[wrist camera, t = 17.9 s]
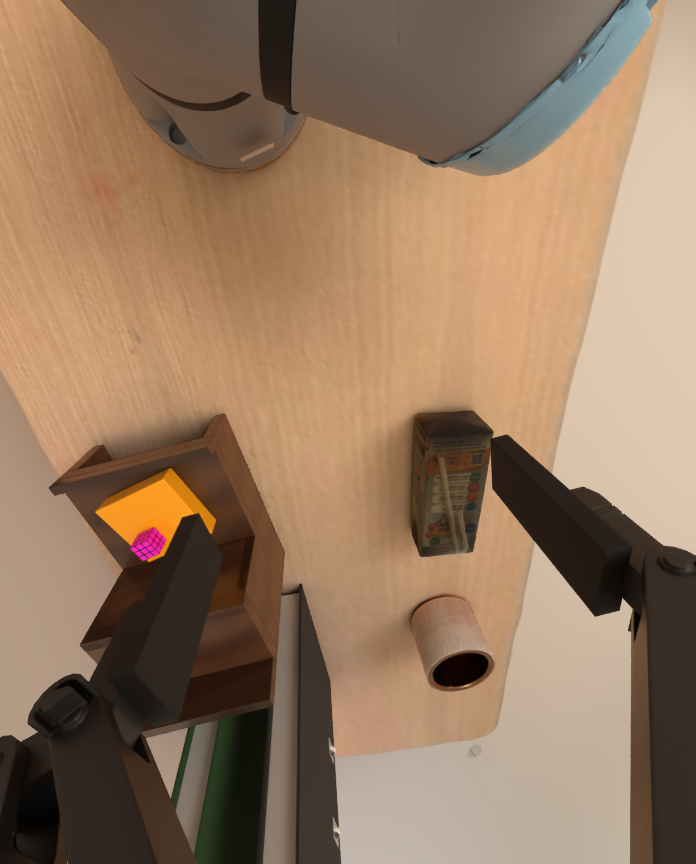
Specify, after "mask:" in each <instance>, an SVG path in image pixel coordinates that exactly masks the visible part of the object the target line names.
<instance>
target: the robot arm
mask: <svg viewBox="0 0 696 864" xmlns="http://www.w3.org/2000/svg"><path fill="white" fill-rule="evenodd" d="M657 1H658V0H61V2H62V3H63V4H64V5H65V6H66V7H67V8H68V9H69V10H70V11H71V12H72V13H73V14H74V15H75V16H76V17H77V18H78V19H79V20H80V21H81V22H82V23H83V24H84V25H85V26H86V27H87V28H88V29H89V30H90V31H91V32H92V33H93V34H94V35H95V36H96V38H97V39H98V40H99V41H100V42H101V43H102V44H103V45H104V46H105V47H106V48H107V49H108V51H109V54H110V57H111V60H112V62H113V65H114V67H115V70H116V72H117V75H118V77H119V79H120V81H121V83H122V85H123V87H124V89H125V90H126V92H127V94H128V96H129V97H130V99H131V101H132V102H133V104H134V106H135V107H136V109H137V110H138V111H139V113H140V114H141V116H142V117H143V118H144V120H145V121H146V122H147V123H148V125H149V126H150V127H151V128H152V129H153V130H154V131H155V132H156V133H157V134H158V135H159V136H160V137H161V138H162V139H163V140H164V141H165V142H166V143H167V144H169V145H170V146H171V147H172V148H173V149H175V150H176V151H177V152H179V153H180V154H181V155H183V156H184V157H186V158H188V159H189V160H191V161H193V162H195V163H197V164H199V165H201V166H204V167H206V168H209V169H212V170H216V171H221V172H230V173H238V172H247V171H252V170H255V169H258V168H261V167H263V166H265V165H267V164H269V163H270V162H272V161H274V160H275V159H276V158H278V157H279V156H280V155H281V154H282V153H283V152H284V151H285V150H286V149H287V148H288V147H289V146H290V145H291V143H292V142H293V141H294V140H295V138H296V136H297V135H298V133H299V132H300V130H301V128H302V126H303V124H304V121H305V119H306V116H310V117H313V118H316V119H318V120H321V121H324V122H327V123H329V124H332V125H335V126H338V127H340V128H343V129H346V130H349V131H352V132H354V133H357V134H360V135H363V136H365V137H368V138H371V139H374V140H376V141H379V142H382V143H385V144H387V145H390V146H393V147H396V148H398V149H401V150H404V151H407V152H409V153H412V154H415V155H418V158H419V159H420V160H421V161H422V162H423V163H425V164H427V165H429V166H432V167H443V168H445V167H451V168H454V169H457V170H461V171H464V172H467V173H471V174H474V175H478V176H489V175H499V174H502V173H506V172H509V171H511V170H513V169H515V168H517V167H519V166H521V165H523V164H525V163H527V162H528V161H530V160H531V159H533V158H534V157H536V156H537V155H538V154H540V153H541V152H542V151H544V150H545V149H546V148H548V147H549V146H550V145H551V144H552V143H554V142H555V141H556V140H557V139H558V138H559V137H560V136H561V135H562V134H563V133H564V132H565V131H567V130H568V129H569V128H570V127H571V126H572V125H573V124H574V123H575V122H576V121H577V120H578V119H579V117H580V116H581V115H582V114H583V113H584V112H585V111H586V110H587V109H588V108H589V107H590V105H591V104H592V103H593V102H594V101H595V100H596V99H597V97H598V96H599V95H600V94H601V93H602V91H603V90H604V89H605V88H606V87H607V85H608V84H609V83H610V82H611V80H612V79H613V78H614V77H615V75H616V74H617V73H618V71H619V70H620V69H621V67H622V66H623V65H624V63H625V62H626V61H627V59H628V58H629V56H630V55H631V54H632V52H633V51H634V49H635V48H636V46H637V45H638V43H639V42H640V40H641V39H642V37H643V36H644V34H645V33H646V31H647V30H648V28H649V27H650V25H651V23H652V15H651V12H650V10H651V8H652V7H653V6H654V5H655V4H656V2H657ZM490 446H491V467H492V489H493V490H494V491H495V492H496V494H497V495H498V496H499V497H500V499H501V500H502V501H503V502H504V504H505V505H506V506H507V507H508V509H509V510H510V511H511V512H512V514H513V515H514V516H515V517H516V519H517V520H518V521H519V522H520V524H521V525H522V526H523V527H524V529H525V530H526V531H527V532H528V534H529V535H530V536H531V537H532V539H533V540H534V541H535V542H536V544H537V545H538V546H539V547H540V549H541V550H542V551H543V552H544V553H545V555H546V556H547V557H548V559H549V560H550V561H551V562H552V564H553V565H554V566H555V567H556V569H557V570H558V571H559V572H560V574H562V576H563V577H564V578H565V580H566V581H567V582H568V583H569V585H570V586H571V587H572V588H573V590H574V591H575V592H576V593H577V595H578V596H579V597H580V598H581V600H582V601H583V602H584V603H585V605H586V606H587V607H588V608H589V610H590V611H591V612H592V613H593V615H594V616H595V617H596V616H600V615H603V614H607V613H612V612H616V611H619V610H620V606H621V601H622V598H623V599H624V600H625V601H626V602H627V603H628V604H629V605H630V606H631V607H632V608H633V611H632V615H631V619H630V624H629V628H628V631H630V632H631V795H630V796H631V797H630V798H631V801H630V864H696V556H695V555H693V554H691V553H690V552H688V551H685V550H682V549H679V548H676V547H670V546H663V545H662V544H661V543H659V542H658V541H657V540H656V539H654V538H653V537H652V536H651V535H649V534H648V533H647V532H646V531H644V530H643V529H642V528H641V527H640V526H638V525H637V524H636V523H635V522H634V521H632V520H631V519H630V518H629V517H627V516H626V515H625V514H622V513H621V511H620V510H619V509H617V508H616V507H615V506H612V504H611V503H610V502H609V501H608V500H606V499H605V498H604V497H603V496H601V495H600V494H599V493H596V492H594V491H592V490H590V489H587V488H585V487H580V488H576V489H572V490H569V489H568V488H567V487H566V486H565V485H564V484H563V483H561V482H560V481H559V480H558V479H557V478H556V477H554V475H552V474H551V473H550V472H549V471H548V470H547V469H546V468H545V467H543V466H542V465H541V464H540V463H539V462H538V461H537V460H536V459H534V458H533V457H532V456H531V455H530V454H529V453H528V452H526V451H525V450H524V449H523V448H522V447H521V446H520V445H519V444H517V443H516V442H515V441H514V440H513V439H512V438H511V437H510V436H508V435H503V436H499V437H495V438H491V439H490ZM222 560H223V556H222V554H221V552H220V550H219V548H218V547H217V545H216V543H215V541H214V539H213V537H212V536H211V534H210V532H209V530H208V528H207V527H206V525H205V523H204V521H203V519H202V517H201V516H200V514H199V513H197V514H193V515H189V516H185V517H182V519H181V521H180V523H179V525H178V527H177V529H176V531H175V533H174V536H173V538H172V540H171V542H170V544H169V546H168V548H167V550H166V553H165V555H164V557H163V559H162V561H161V563H160V565H159V567H158V570H157V572H156V574H155V576H154V578H153V580H152V582H151V584H150V587H149V589H148V591H147V593H146V595H145V597H144V599H141V600H137V601H134V602H133V604H132V605H131V606H130V607H129V608H128V610H127V611H126V612H125V613H124V614H123V616H122V618H121V620H120V622H119V624H118V626H117V627H116V629H115V630H116V632H115V633H113V635H112V637H111V639H110V641H109V645H107V647H106V649H105V651H104V653H103V655H102V657H101V659H100V661H99V663H98V665H97V667H96V669H95V671H94V673H93V675H92V677H91V679H90V681H89V682H88V681H87V680H86V679H85V678H84V677H83V676H82V675H81V674H71V675H68V676H65V677H63V678H62V679H60V680H59V681H57V682H55V683H54V684H53V685H51V686H50V687H49V688H48V689H47V690H46V691H45V692H44V693H43V694H42V695H41V696H40V698H39V699H38V700H37V701H36V703H35V704H34V706H33V708H32V710H31V712H30V714H29V717H28V724H29V725H30V726H31V727H32V728H34V729H35V730H36V731H38V733H36V734H34V735H32V736H31V737H29V738H27V739H25V740H23V741H22V742H20V741H19V740H17V739H16V738H15V737H13V736H12V735H9V736H2V737H1V738H0V864H67V861H68V864H197V862H196V859H195V857H194V855H193V852H192V850H191V847H190V845H189V842H188V840H187V838H186V835H185V833H184V830H183V828H182V825H181V823H180V821H179V818H178V816H177V813H176V811H175V808H174V806H173V804H172V801H171V799H170V796H169V794H168V791H167V789H166V787H165V784H164V782H163V779H162V777H161V774H160V772H159V770H158V767H157V765H156V763H155V760H154V757H153V755H152V753H151V750H150V748H149V745H148V743H147V741H146V738H145V736H144V735H143V734H142V733H141V732H140V731H141V728H142V726H143V723H144V720H145V718H146V719H147V720H148V721H149V722H150V723H151V724H152V725H153V726H154V727H157V726H161V725H165V724H169V723H173V722H177V721H179V718H180V714H181V710H182V707H183V703H184V699H185V695H186V692H187V688H188V684H189V681H190V677H191V673H192V670H193V666H194V662H195V659H196V655H197V651H198V648H199V644H200V640H201V637H202V633H203V629H204V626H205V622H206V618H207V615H208V611H209V607H210V604H211V600H212V596H213V593H214V589H215V585H216V582H217V578H218V574H219V571H220V567H221V563H222Z"/></svg>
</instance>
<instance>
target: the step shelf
mask: <svg viewBox="0 0 696 864" xmlns="http://www.w3.org/2000/svg"><path fill="white" fill-rule="evenodd" d="M168 468H172V470H173V471H174V472H175V473H176V474H177V475H178V476H179V478H180V479H181V480H182V481H183V482H184V483H185V485H186V486H187V487H188V488H189V489H190V490H191V491H192V493H193V494H194V495H195V496H196V497H197V498H198V500H199V501H200V502H201V503H202V504H203V505H204V506H205V508H206V509H207V510H208V511H209V512H210V513H211V515H212V516H213V517H214V518H215V519H216V523H215V526H214V529H213V532H212V534H211V536H212V537H213V539H214V541H215V543H216V545H217V547H218V548H219V550H220V552H221V554H222V556H223V560H222V563H221V567H220V571H219V574H218V578H217V582H216V585H215V589H214V593H213V596H212V600H211V604H210V607H209V611H208V615H207V618H206V622H205V626H204V629H203V633H202V637H201V640H200V644H199V648H198V651H197V655H196V659H195V662H194V666H193V670H192V673H191V677H190V681H189V684H188V688H187V692H186V695H185V699H184V703H183V707H182V710H181V714H180V718H179V721H177V722H173V723H169V724H165V725H161V726H157V727H154V726H153V725H152V724H151V723H150V722H149V721H148V720H147V719H146V718H145V720H144V723H143V726H142V728H141V731H140V732H141V733H142V734H143V735H144V736H145V738H148V737H152V736H156V735H160V734H164V733H168V732H172V731H176V730H180V729H184V728H188V727H192V726H196V725H200V724H204V723H208V722H212V721H216V720H220V719H224V718H228V717H232V716H236V715H240V714H244V713H248V712H252V711H256V710H260V709H264V708H268V707H272V706H274V696H275V681H276V667H277V664H276V663H277V652H278V638H279V624H280V610H281V595H282V581H283V567H284V553H285V552H284V550H283V547H282V545H281V543H280V540H279V538H278V536H277V533H276V531H275V529H274V526H273V524H272V522H271V520H270V517H269V515H268V513H267V510H266V508H265V506H264V503H263V501H262V499H261V496H260V494H259V492H258V489H257V487H256V485H255V482H254V480H253V478H252V475H251V473H250V471H249V469H248V466H247V464H246V462H245V459H244V457H243V455H242V452H241V450H240V448H239V445H238V443H237V441H236V438H235V436H234V434H233V432H232V429H231V427H230V425H229V422H228V420H227V418H226V415H225V414H221V415H217V416H215V417H214V419H213V421H212V422H211V424H210V426H209V428H208V430H207V431H206V433H205V435H204V437H203V438H200V439H196V440H192V441H188V442H184V443H180V444H176V445H172V446H168V447H164V448H161V449H157V450H153V451H149V452H145V453H141V454H137V455H133V456H129V457H125V458H121V459H118V460H114V461H113V460H112V458H111V457H110V455H109V454H108V452H107V450H106V449H105V447H104V446H103V445H100V446H96V447H93V448H92V449H91V450H90V451H89V452H88V453H87V454H85V455H84V456H83V457H82V458H81V459H80V460H79V461H78V462H77V463H75V464H74V465H73V466H72V467H71V468H70V469H69V470H68V471H67V472H66V473H64V474H63V475H62V476H61V477H60V478H59V479H58V480H57V481H56V482H55V483H53V484H52V485H51V486H50V487H49V489H50V491H51V492H52V493H53V494H54V495H59V494H63V493H66V494H67V496H68V497H69V498H70V500H71V501H72V503H73V504H74V505H75V507H76V508H77V509H78V511H79V512H80V513H81V514H82V516H83V517H84V518H85V520H86V521H87V522H88V524H89V525H90V526H91V528H92V529H93V530H94V532H95V533H96V534H97V536H98V537H99V538H100V540H101V541H102V542H103V544H104V545H105V546H106V548H107V549H108V550H109V552H110V553H111V554H112V556H113V557H114V558H115V560H116V561H117V562H118V564H119V565H120V566H121V568H122V569H123V571H122V573H121V574H120V576H119V578H118V579H117V581H116V583H115V585H114V586H113V588H112V590H111V592H110V593H109V595H108V597H107V598H106V600H105V602H104V604H103V605H102V607H101V609H100V611H99V612H98V614H97V616H96V617H95V619H94V621H93V623H92V625H91V626H90V628H89V630H88V631H87V633H86V635H85V637H84V639H83V640H82V642H81V643H80V646H81V648H83V650H84V651H86V653H87V654H88V655H89V656H90V657H91V658H92V659H93V660H94V661H95V662H96V663H97V664H98V663H99V661H100V659H101V657H102V655H103V653H104V651H105V649H106V647H107V645H109V641H110V639H111V637H112V635H113V633H115V632H116V630H115V629H116V627H117V626H118V624H119V622H120V620H121V618H122V616H123V614H124V613H125V612H126V611H127V610H128V608H129V607H130V606H131V605H132V604H133V602H134V601H137V600H141V599H144V597H145V595H146V593H147V591H148V589H149V587H150V584H151V582H152V580H153V578H154V576H155V574H156V572H157V570H158V567H159V565H160V563H161V561H162V559H163V557H164V556H162V557H160V558H158V559H155V560H153V561H151V562H148V561H147V560H145V561H142V560H141V559H140V558H139V557H138V556H137V555H136V554H135V553H134V552H132V551H131V550H130V547H131V545H130V544H129V543H128V542H127V541H126V540H124V539H123V538H122V537H121V536H120V535H119V534H118V533H117V532H116V531H115V530H114V529H113V528H111V527H110V526H109V525H108V524H107V523H106V522H105V521H104V520H103V519H102V518H101V517H100V516H99V515H97V514H96V513H95V512H96V510H97V509H98V508H99V507H100V505H101V504H102V503H103V502H104V500H105V499H106V498H108V497H110V496H112V495H115V494H117V493H119V492H121V491H123V490H125V489H127V488H129V487H131V486H133V485H135V484H137V483H139V482H141V481H143V480H145V479H147V478H149V477H151V476H154V475H156V474H158V473H160V472H162V471H164V470H166V469H168Z"/></svg>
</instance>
